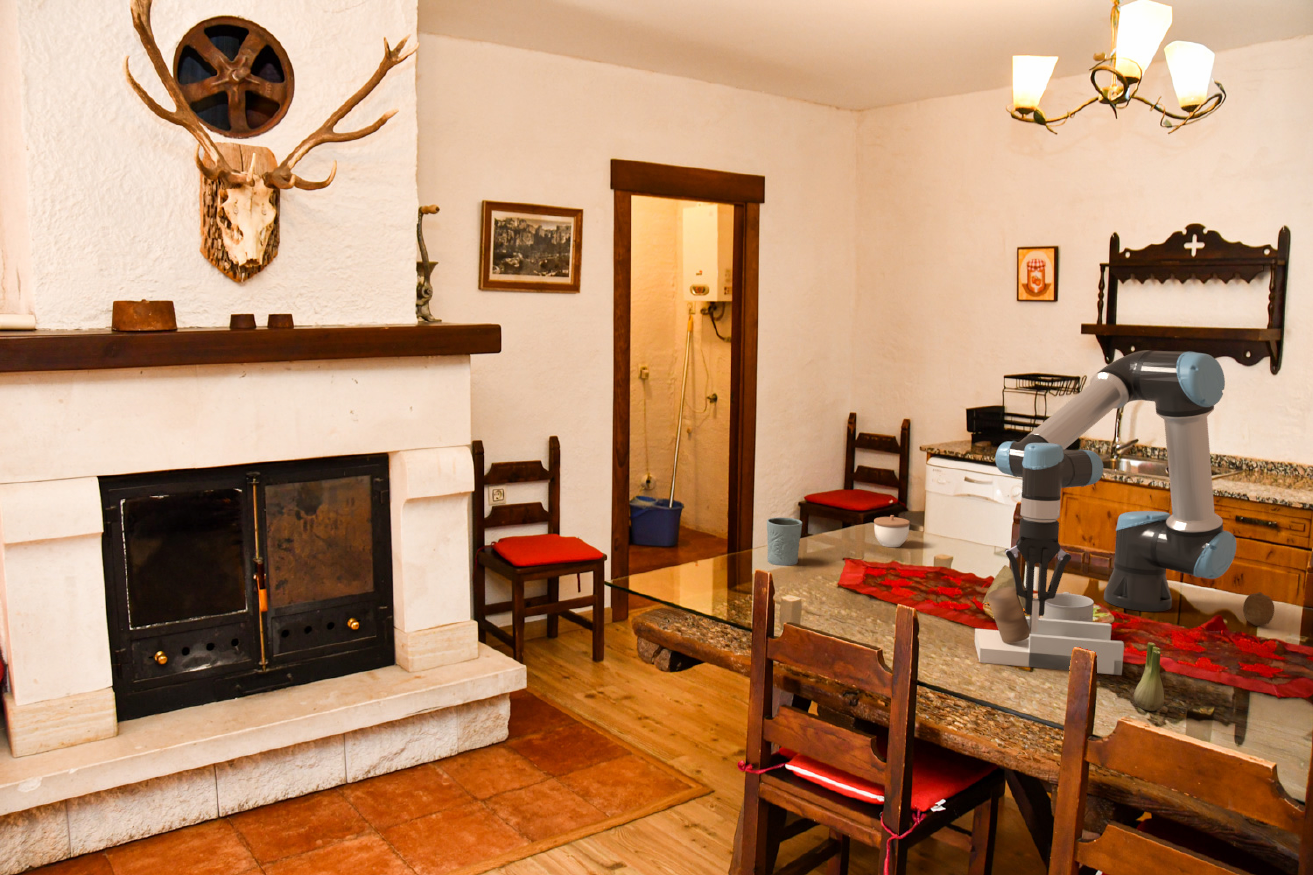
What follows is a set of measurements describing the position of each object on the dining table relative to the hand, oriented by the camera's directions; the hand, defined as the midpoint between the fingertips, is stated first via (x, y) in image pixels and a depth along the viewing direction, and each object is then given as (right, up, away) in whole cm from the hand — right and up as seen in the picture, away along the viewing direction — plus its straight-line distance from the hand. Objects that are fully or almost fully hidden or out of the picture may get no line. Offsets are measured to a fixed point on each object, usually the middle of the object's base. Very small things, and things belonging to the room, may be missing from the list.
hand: (1033, 629), depth 202 cm
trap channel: (+3, -6, +1) cm, 7 cm away
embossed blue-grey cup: (-42, +4, +77) cm, 88 cm away
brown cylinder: (-3, -2, +1) cm, 4 cm away
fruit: (+61, -4, +24) cm, 66 cm away
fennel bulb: (+11, -10, -25) cm, 29 cm away
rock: (+7, -2, +35) cm, 36 cm away
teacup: (+15, -4, +18) cm, 24 cm away
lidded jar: (-6, +7, +99) cm, 99 cm away
